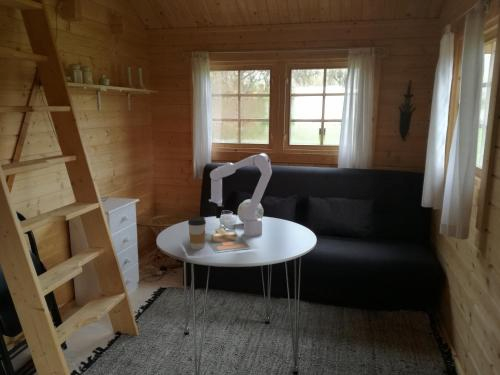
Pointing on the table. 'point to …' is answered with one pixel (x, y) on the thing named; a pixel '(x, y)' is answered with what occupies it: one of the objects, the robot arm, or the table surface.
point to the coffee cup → (197, 232)
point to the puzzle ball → (244, 206)
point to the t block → (223, 235)
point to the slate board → (226, 244)
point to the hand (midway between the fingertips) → (216, 216)
